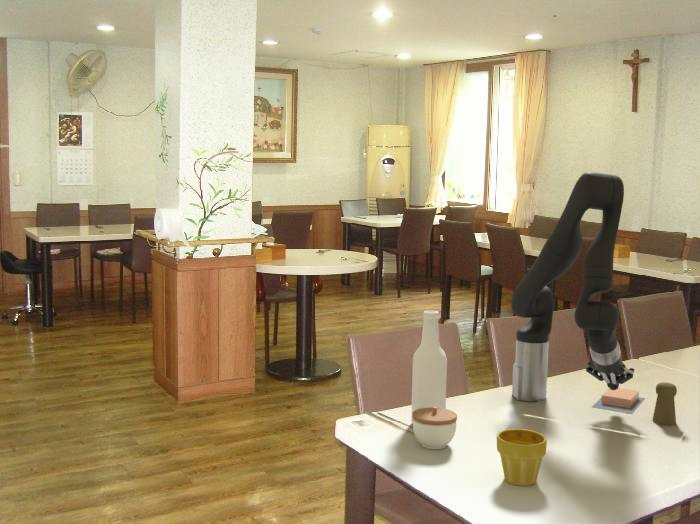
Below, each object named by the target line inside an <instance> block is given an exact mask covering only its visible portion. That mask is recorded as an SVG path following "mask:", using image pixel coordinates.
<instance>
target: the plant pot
mask: <svg viewBox="0 0 700 524" xmlns="http://www.w3.org/2000/svg"><path fill="white" fill-rule="evenodd" d="M547 444H548V443H547V437H546V436H545V434H543V433H541V432H538V431H535V430H531V429H524V428H509V429H504V430H501V431H499V432H498V433H497V435H496V450H497V452H498V453H499V454H500V461H501V466H502V470H503V477H504V480H505V481H506V482H507V483H508V484H511V485H513V486H518V487H519V486H520V487H522V486H523V487H528V486H533V485H534V484H536V483H537V480H538V476H539V471H540V467H541V464H542V460H543V457H545V456H546V454H547Z"/></svg>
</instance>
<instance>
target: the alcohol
mask: <svg viewBox="0 0 700 524" xmlns="http://www.w3.org/2000/svg"><path fill="white" fill-rule="evenodd" d="M439 314H440V313H439V311H437V310H432V309H431V310H430V309H429V310H424V311H423V315H422V319H423V322H422V333H421V342H420V345H419V347H418V348H417V349H416V350H415V352H414V354H413V357H412V373H411V374H412V376H411V377H412V379H411V381H412V382H411V383H412V384H411V389H412V390H411V417H410V420H411V423H412V424H413V418H412V413H413V412H414V411H415V410H417V409H421V408H429V407H437V408H444V409H447V407H446V405H447V403H446V402H447V375H448V373H447V372H448V371H447V370H448V359H447V355H446V352H445V351H444V349H443V348H442V347H441V343H440V330H439V327H440V326H439V319H440V317H439Z"/></svg>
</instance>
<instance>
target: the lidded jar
mask: <svg viewBox="0 0 700 524" xmlns="http://www.w3.org/2000/svg"><path fill="white" fill-rule="evenodd" d="M411 414H412V418H413V423H412V430H413V433H414V437H415V439H416V440H417V441H418V443H420V446H421V447H423V448H424V449H429V450H441V449H442V450H443V449H445V448H446V447H448V446H447V445H448V444H450V443H451V442H452V440H453V439H454V436H455V435H456V434H455V433H456V429H457V421H458V415H457V413H456V412H455V411H453V410H450V409H447V408H446V409H444V408H437V407H429V408H421V409H417V410H415V411H414V412H413V413H412V412H411Z"/></svg>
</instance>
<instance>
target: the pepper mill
mask: <svg viewBox="0 0 700 524" xmlns="http://www.w3.org/2000/svg"><path fill="white" fill-rule="evenodd" d="M655 392H656V394H657V396H656V401H655V406H654V412H653V416H652V423H654V424H656V425H661V426H666V427H667V426H668V427H671V426H675V425H677V417H676V406H675V405H676V402H675V397H676V395H677V393H678V388H677V386H676V385H675V384H674V383H670V382H665V381H664V382H663V381H662V382H659V383H657V384H656V386H655Z"/></svg>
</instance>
